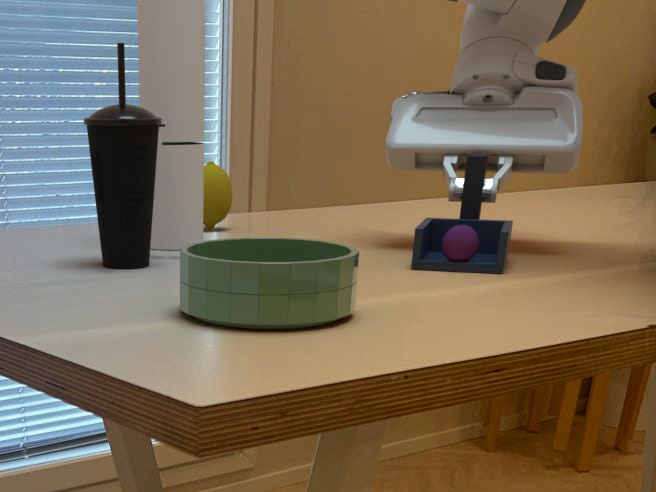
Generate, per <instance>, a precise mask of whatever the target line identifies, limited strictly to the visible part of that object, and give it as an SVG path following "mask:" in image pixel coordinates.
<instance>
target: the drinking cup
mask: <svg viewBox="0 0 656 492" xmlns="http://www.w3.org/2000/svg"><path fill="white" fill-rule="evenodd" d="M116 47H117V49H116V50H117V88H118V104H111V105H107V106H105V107H102V108H100V109H97V110H95V112H93V113H92V114H91V115H89V116H88V117H84V118H83V125H85V126H86V133H87V141H88V148H89V149H88V150H89V157H90V166H91V174H92V175H91V176H92V182H93V191H94V192H93V194H94V201H95V208H96V209H95V210H96V218H97V225H98V226H97V227H98V233H99V235H98V236H99V244H100V251H101V260H102V266H103V267H105V268H110V269H120V270H121V269H126V270H127V269H140V268H145V267H148V266H149V265H150V259H151V249H150V245H151V231H152V217H153V203H154V189H155V174H156V160H157V146H158V132H159V125H160V124H162V119H161V118H160V117H156V116H155V115H154V114H152V113H151V112H149V111H148V110H146V109H144V108H141V107H139V105H134V104H129V103H128V104H127V101H126V100H127V97H126V95H127V93H126V92H127V91H126V55H125V51H126V49H125V42H117V45H116Z"/></svg>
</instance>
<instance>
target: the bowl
mask: <svg viewBox="0 0 656 492" xmlns="http://www.w3.org/2000/svg"><path fill="white" fill-rule="evenodd" d="M359 258H360V251H359V250H358V249H357V248H356V247H355V246H352V245H348V244H345V243H341V242H335V241H328V240H323V239H313V238H312V239H311V238H301V237H299V238H298V237H275V236H274V237H271V236H270V237H262V236H261V237H260V236H257V237H256V236H255V237H253V236H252V237H227V238H217V239H208V240H203V241H201V242H195V243H190V244H188V245H185V246H183V247H181V248H180V250H179V310H180V311H182V312H183V313H184V314H186V315H188V316H191V317H194V318H195V319H197V320H199V321H202V322H205V323H208V324H212V325H217V326H222V327H228V328H229V327H230V328H235V329H236V328H238V329H249V330H293V329H304V328H311V327H318V326H319V327H320V326H323V325H328V324H330V323H334V322H336V321H338V320H339V319H342V318H345V317H347V316H350V315H351V314H352V313H353V312H354V311H355V309H356V297H357V285H358V272H359V261H360V259H359Z"/></svg>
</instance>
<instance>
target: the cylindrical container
mask: <svg viewBox="0 0 656 492" xmlns="http://www.w3.org/2000/svg"><path fill="white" fill-rule="evenodd" d="M137 46H138V47H137V50H138V51H137V55H138V58H137V59H138V102H139V103H138V104H139V105H138V107H141V108H144V109H146V110H148V111H149V112H151V113H152V114H154V115H155V116H156V117H160V118H161V119H162V124H160V125H159V132H158V146H157V160H156V174H155V189H154V203H153V217H152V231H151V245H150V250H160V251H180V248H181V247H183V246H185V245H188V244H190V243H195V242H201V241H204V224H203V204H204V165H205V142H204V141H205V96H206V95H205V92H206V91H205V90H206V89H205V88H206V87H205V86H206V85H205V83H206V76H205V75H206V0H137Z"/></svg>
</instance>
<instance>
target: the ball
mask: <svg viewBox="0 0 656 492" xmlns="http://www.w3.org/2000/svg"><path fill="white" fill-rule="evenodd" d="M478 246H479V238H478V235H477V233H476V232H475V230H474V229H473V228H471V227H469V226H467V225H457V226H455V227H453V228H451V229H450V230H449V231H448V232H447V233H446V234H445V236H444V238H443V241H442V251H443V254H444V256H445V257H446V258H447V259H448V260H449V261H455V262H466V261H468V260H470V259H471V258H472V257H473V256H474V255H475V254H476V252H477V250H478Z"/></svg>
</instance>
